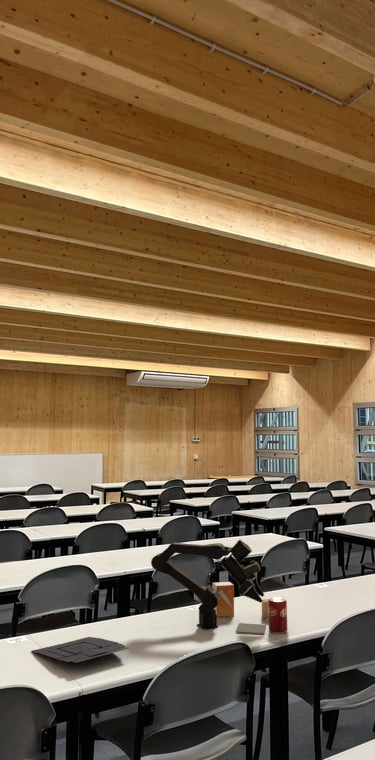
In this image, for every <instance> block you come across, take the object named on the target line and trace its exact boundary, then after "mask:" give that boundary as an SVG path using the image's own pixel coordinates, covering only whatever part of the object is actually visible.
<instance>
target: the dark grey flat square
mask: <svg viewBox="0 0 375 760" xmlns="http://www.w3.org/2000/svg"><path fill="white" fill-rule="evenodd" d="M129 649H130V647H128V646H127V644H126V645H125V644H124V643H119V642H118V641H113V640H108V639H105V638H100V637H94V636H93V637H92V636H87V637H82V638H79V639H78V638H77V639H75V640H72V641H67V642H63V643H59V644H56V645H50V646H45V647H42V648H38V649H34V650H31V652H33V653H36V654H41V655H44V656H47V657H50V658H53V659H56V660H58V661H64V662H67V663H69V662H72V663H76V664H77V663H80V662H81V663H82V662H84V661H88V660H92V659H95V658H98V657H102V656H106V655H110V654H114V653H117V652H121V651H124V650H129Z"/></svg>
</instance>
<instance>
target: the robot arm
mask: <svg viewBox="0 0 375 760" xmlns="http://www.w3.org/2000/svg"><path fill="white" fill-rule="evenodd" d="M251 553H252V549H251V547H250V546H249V544H247V543H245V542H244V541H242V539H238V541H236V543H235V544H234V545H233V546H232V547H230V546H225V545H224V544H223V543H221V542H216V543H215V542H213V543H207V544H197V543H196V544H195V543H194V544H193V543H182V542H181V543H180V542H176V541H175V542H172V543H170V544H169V545H168V546H167V548H165V550H163V551H161V553H157V554H155V555H154V556H153V557H152V558H151V562H150V564H151V567H152V568H153V570H155V571H158V572H159V573H162V574H164V575H168V576H169V577H171V578H172V579H174V581H176V582H178V583H179V584H181V585H182V586H184V588H186V589H187V590H188V591H190V592H191V593H192V594H194V595H195V596H196V597H197V599H199V601H200V605H199V606H198V623H196V626H197V627H200V628H201V629H203V630H210V629H215V628H219V625H218V617H217V614H216V610H214V608H215V607H216V606H217V605H218V603H219V601H220V595H219V593H218V592H217V590H216V589H214V588H212V586H211V584H208V585H207V586H204V585H202V584H201V583H199V582H198V581H196V580H195V579H194V578H192V577H191V576H190V575H188V574H187V573H186V572H184V571H183V570H182V569H180V567H179V568H178V566H176V565H175V564H174V563H173V560H172V559H171V558H172V556H174V555H175V554H184V555H195V556H197V555H198V556H203V557H205V558H207V559H208V558H209V559H212V560H216V565H217V566H216V568H217V570H219V569H220V568H221V567H222V568H223V570H224V571H226V572H227V573H228V574H229V575H230V578H231V579H232V580H235V582H236V583H237V584H238V585H237V586H238V588H237V591H238V594H240V596H243V597H246V598H249V599H251V600H253V601H256V602H258V603H261V604H262V600H263V599H262V598H263V597H265V593H264V592H263V590H262V589H261V587H260V585H259V583H258V576H257V574H256V573H259V572H260V571H261V570H262V569H261V566H260V563H259V562H258V561H255V560H251V561H249V565H246V566H245V565H244V564H240V561H241V562H243V561H245V559H246V558H248V556H249V555H250V554H251ZM227 556H228V557H227ZM261 597H262V598H261Z"/></svg>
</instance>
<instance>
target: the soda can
mask: <svg viewBox="0 0 375 760" xmlns="http://www.w3.org/2000/svg"><path fill="white" fill-rule="evenodd" d="M268 599H269V600H268V613H269V620H268V630H269V631H270V632H271V633H272V634H278V635H281V634H285V633H287V632H288V602H287V599H286V598H285V597H270V598H268Z"/></svg>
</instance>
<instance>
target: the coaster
mask: <svg viewBox="0 0 375 760" xmlns="http://www.w3.org/2000/svg"><path fill="white" fill-rule="evenodd" d="M266 628H267V624H259V623H244V622H243V623H242V622H239V623H238V624H237V627H236V629H235V634H245V635H246V634H247V635H259V636H261V635H262V636H264V635H265V632H266Z"/></svg>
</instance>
